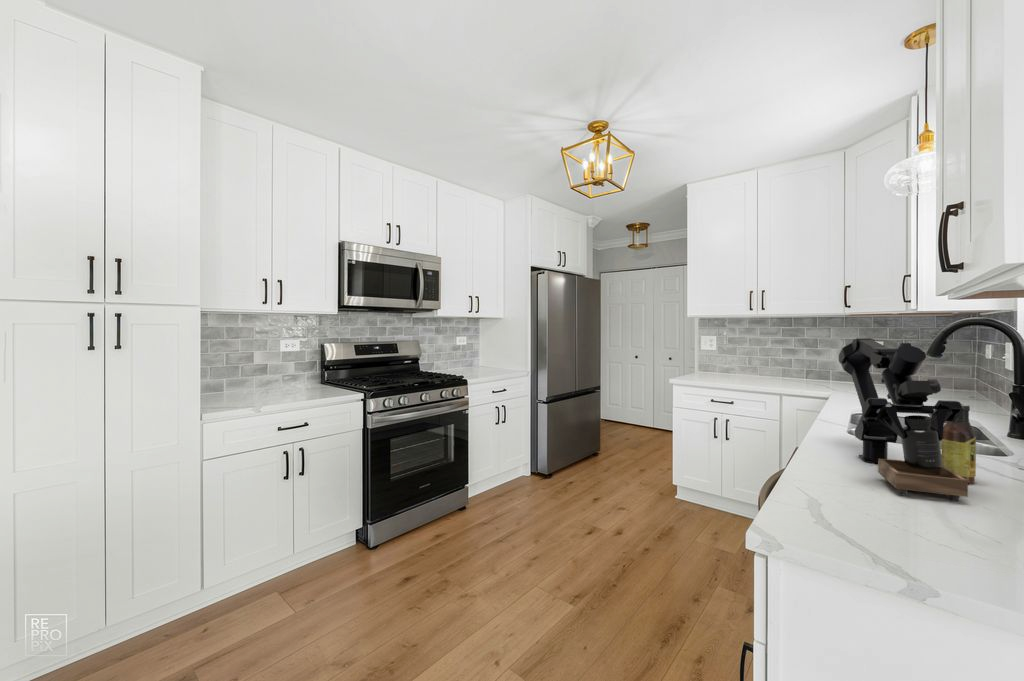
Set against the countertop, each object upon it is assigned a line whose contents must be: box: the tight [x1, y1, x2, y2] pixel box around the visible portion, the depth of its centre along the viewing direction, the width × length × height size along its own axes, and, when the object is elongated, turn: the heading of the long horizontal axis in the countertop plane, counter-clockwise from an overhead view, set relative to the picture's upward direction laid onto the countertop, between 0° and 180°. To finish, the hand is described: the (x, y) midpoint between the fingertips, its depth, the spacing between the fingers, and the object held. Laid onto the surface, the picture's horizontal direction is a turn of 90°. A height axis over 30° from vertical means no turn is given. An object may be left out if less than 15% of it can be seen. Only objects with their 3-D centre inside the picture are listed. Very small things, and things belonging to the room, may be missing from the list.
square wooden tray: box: [877, 458, 969, 502], centre depth 106 cm, size 13×13×6 cm
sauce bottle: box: [941, 403, 977, 484], centre depth 113 cm, size 6×6×20 cm
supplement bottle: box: [901, 414, 943, 470], centre depth 106 cm, size 7×7×12 cm
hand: (922, 438), depth 105 cm, fingers closed on supplement bottle, 7 cm apart
